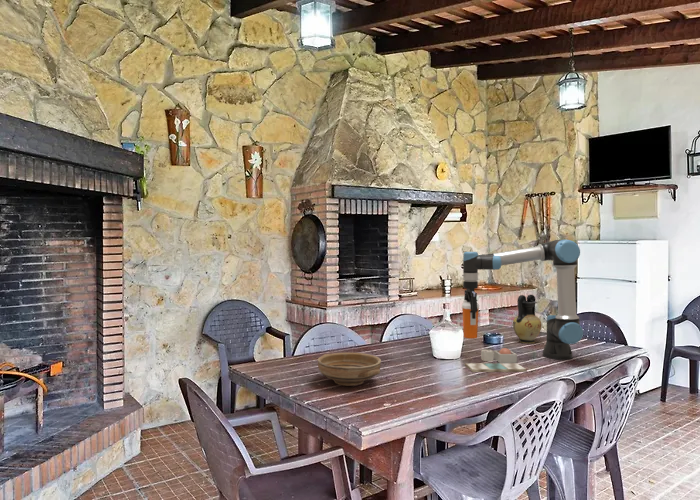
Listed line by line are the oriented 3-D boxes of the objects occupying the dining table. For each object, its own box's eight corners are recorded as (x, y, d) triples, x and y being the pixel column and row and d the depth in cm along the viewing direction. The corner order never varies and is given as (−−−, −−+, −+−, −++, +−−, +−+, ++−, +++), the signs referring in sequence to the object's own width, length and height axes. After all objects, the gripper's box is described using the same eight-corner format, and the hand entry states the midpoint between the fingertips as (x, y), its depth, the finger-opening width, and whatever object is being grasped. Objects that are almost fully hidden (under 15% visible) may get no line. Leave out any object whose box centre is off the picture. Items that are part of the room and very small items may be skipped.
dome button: (508, 358, 269) (508, 346, 269) (513, 361, 262) (513, 349, 262) (497, 358, 268) (497, 346, 268) (501, 361, 262) (501, 349, 262)
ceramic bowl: (401, 385, 218) (401, 363, 218) (350, 398, 200) (350, 373, 200) (348, 368, 247) (348, 348, 247) (299, 377, 229) (300, 356, 229)
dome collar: (510, 358, 270) (510, 350, 270) (516, 362, 261) (517, 354, 261) (493, 358, 270) (493, 350, 270) (499, 363, 261) (499, 354, 260)
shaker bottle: (479, 339, 260) (479, 300, 259) (461, 338, 262) (461, 300, 261) (478, 336, 269) (478, 298, 268) (461, 335, 270) (461, 298, 270)
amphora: (521, 338, 327) (522, 292, 327) (546, 342, 315) (547, 295, 314) (507, 341, 315) (508, 294, 315) (532, 346, 303) (533, 297, 302)
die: (490, 358, 270) (490, 349, 269) (493, 361, 265) (493, 351, 264) (481, 358, 269) (481, 349, 269) (484, 361, 264) (484, 351, 264)
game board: (517, 365, 256) (517, 363, 256) (526, 371, 244) (526, 369, 244) (465, 365, 254) (465, 363, 254) (472, 372, 242) (472, 369, 242)
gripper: (457, 279, 275) (457, 320, 275) (469, 282, 253) (469, 326, 254) (471, 279, 275) (471, 319, 276) (484, 282, 254) (484, 326, 254)
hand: (470, 323), depth 265 cm, fingers closed on shaker bottle, 9 cm apart
